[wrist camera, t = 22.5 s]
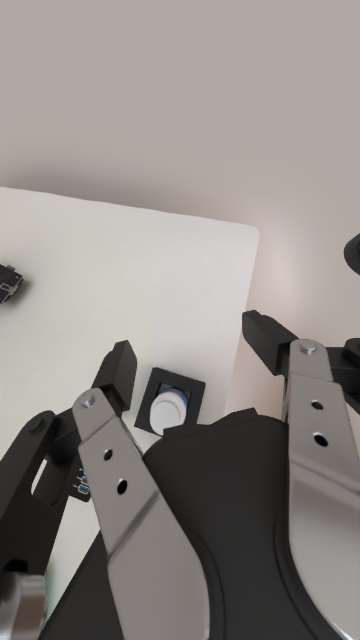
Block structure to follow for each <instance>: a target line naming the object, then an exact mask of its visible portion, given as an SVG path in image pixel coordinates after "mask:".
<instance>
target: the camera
mask: <svg viewBox="0 0 360 640" xmlns="http://www.w3.org/2000/svg"><path fill="white" fill-rule="evenodd" d="M13 270H15V268H13V267H11V266H9V265H8V266H7V267H5V266H3V265H1V264H0V304H2V303H3V302H6V301H7V300H8V299H9V298H11V296H12V295H13V294H14V293H15V292H16V291H17V289H18V288H19V286H20V285H21V283H22V281H23V276H21V275H20V274H18V273H16V272H14V271H13Z"/></svg>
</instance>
